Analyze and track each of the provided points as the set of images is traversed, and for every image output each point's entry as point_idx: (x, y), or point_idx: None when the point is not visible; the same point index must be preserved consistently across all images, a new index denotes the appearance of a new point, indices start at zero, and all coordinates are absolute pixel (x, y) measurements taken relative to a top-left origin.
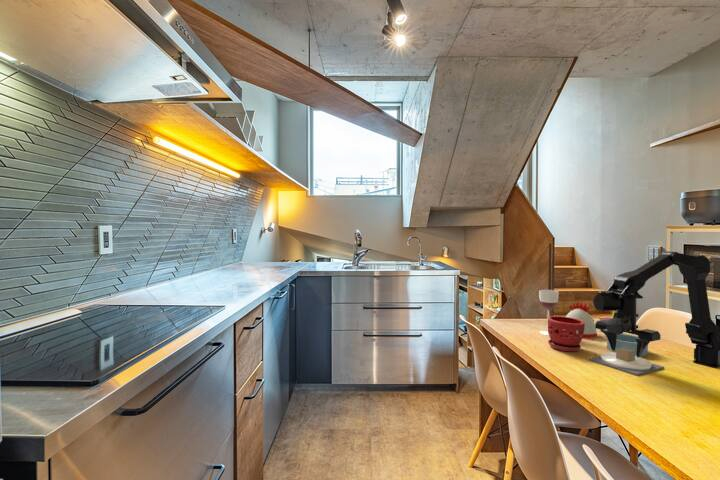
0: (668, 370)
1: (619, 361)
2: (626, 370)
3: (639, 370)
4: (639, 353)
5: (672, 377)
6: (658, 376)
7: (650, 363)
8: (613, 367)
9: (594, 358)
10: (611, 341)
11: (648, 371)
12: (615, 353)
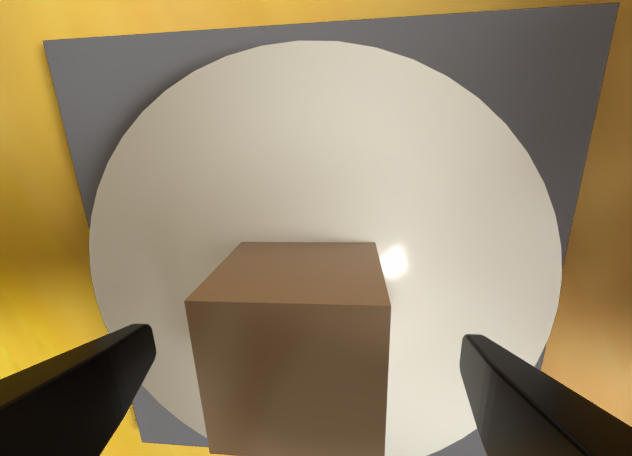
0: None
1: (287, 163)
2: (145, 41)
3: None
4: (65, 358)
5: (3, 301)
6: (30, 227)
7: (148, 383)
8: (282, 27)
9: (568, 90)
10: (585, 448)
11: None
12: None
